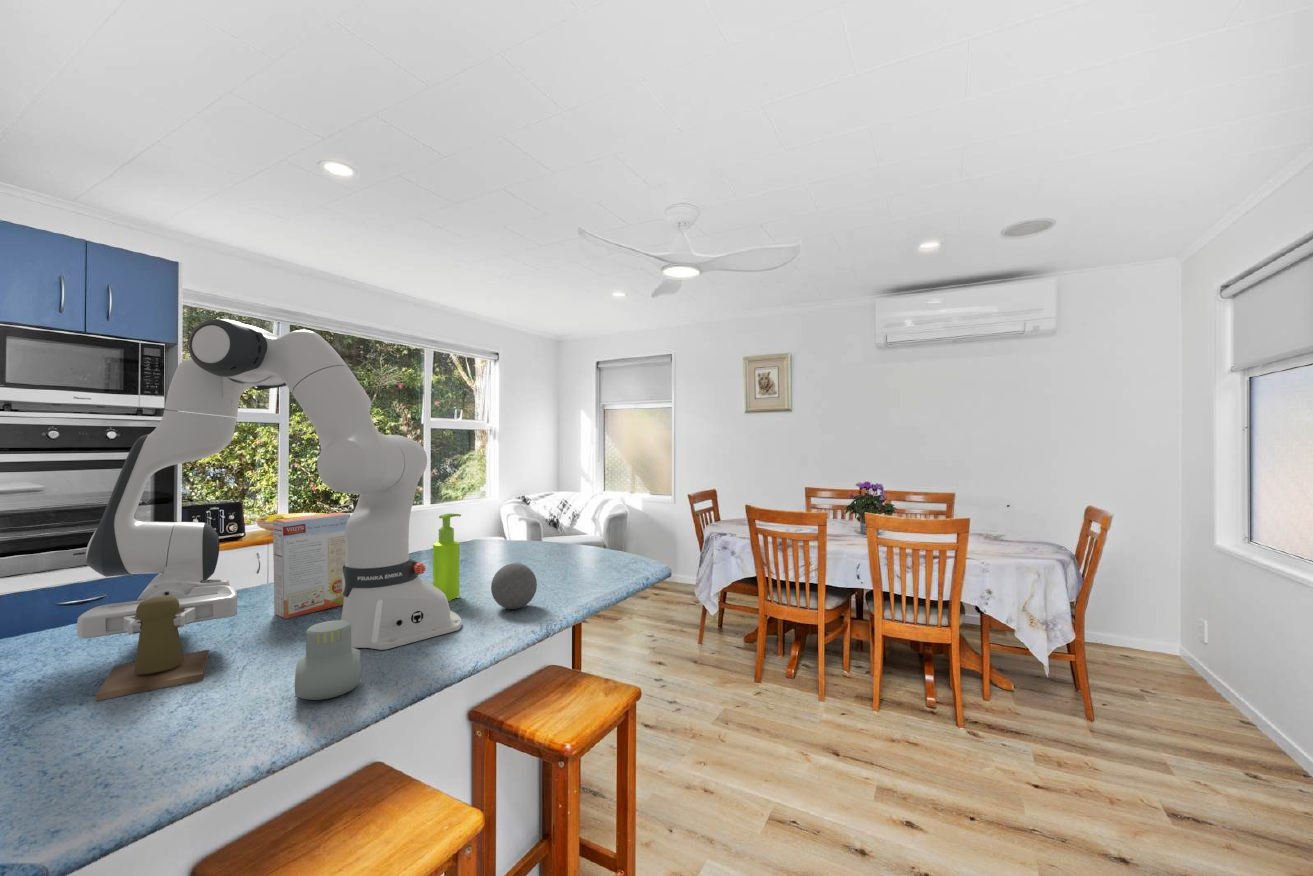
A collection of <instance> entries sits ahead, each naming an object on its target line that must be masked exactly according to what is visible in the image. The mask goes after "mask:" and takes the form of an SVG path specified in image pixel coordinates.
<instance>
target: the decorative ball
mask: <svg viewBox="0 0 1313 876" xmlns="http://www.w3.org/2000/svg"><path fill="white" fill-rule="evenodd" d="M537 582H538V581H537V577H536V575H535V573H534V572H533V571H532V569H531V568H530V567H528V566H526V565H525V564H522V563H516V562H515V563H509V564H506V565H504V566H502V567H501V568H500V569H498V570H497V572H496V573H495V574H494V576H493V578H492V579H491V587H490V591H491V595H492V598H493V599H494V601H495V602H496V603H497V604H498V605H499V606H501V607H502V608H504V609H507V610H518V609H521V608H524V607H525V606H526V605H528V604H529V603H530V602H531V601H532V600H533V599H534V596H535V595H536V593H537V587H538V586H537V585H538V583H537Z"/></svg>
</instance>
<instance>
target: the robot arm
mask: <svg viewBox="0 0 1313 876" xmlns="http://www.w3.org/2000/svg"><path fill="white" fill-rule="evenodd" d="M187 343H188V344H187V346H188V347H187V348H188V353H189V356H190V357H189V358H187V359H184V360H182V361H181V362H180V363H179V364H178V366H177V367H176V369H175V372H174V374H173V376H172V378H171V381H170V384H169V387H168V391H167V395H166V398H165V404H164V410H163V415H162V417H161V420H160V422H159V423H158V425H157V426H156V427H155V428H154V430H153V431H152V432H150V433H147V434H144V435H142V436H140V437H138V438H137V440H136V441H135V442H134V443H133V445H132V446H131V448H130V450H129V452H128V455H127V456H126V458H125V461H124V463H123V466H122V467H121V470H120V473H119V475H118V477H117V479H116V482H115V485H114V487H113V489H112V490H113V491H112V492H111V495H110V498H109V500H108V501H107V505H106V506H105V510H104V512H103V515H102V517H101V519H100V521H99V523H98V525H97V528H96V529H95V530H94V532H93V534H92V535H91V537H90V540H89V542H88V543H87V547H86V550H85V563H86V565H87V566H88V567H90V568H91V569H92V570H93V571H94V572H97V573H98V574H100V575H102V576H103V577H106V578H107V577H120V576H131V575H134V574H135V575H140V574H141V575H143V574H146V575H147V574H148V575H149V574H150V575H151V574H157V575H156V576H155V577H154V578H153V579H152V580H151V581H150V582H149V583H148V584H147V586H146V587H145V589H144V590H143V591H142V592H141V593H140V595H139V596H138V598H137V600H132V601H125V602H118V603H116V602H115V603H108V604H102V605H98V606H95V607H93V608H91V609H89V610H87V611H85V612H84V613H82V614H80V615H79V616H78V618H77V621H76V622H77V624H76V626H77V627H76V632H77V633H76V635H77V637H78V639H83V640H84V639H85V640H86V639H92V638H93V639H94V638H99V637H106V636H113V635H119V634H120V635H121V634H126V633H127V634H128V635H135V634H140V632H141V621H140V620H139V619H138V618H137V615H136V609H137V607H138V605H139V604H140V603H141V602H142V601H144V600H147V599H150V598H154V597H160V596H173V597H175V598H177V599H178V601H179V610H178V612H177V614H176V615H175V616H174V618H173V622H174V626H175V627H178V628H180V627H185V626H187V625H190V624H193V623H198V622H199V623H200V622H206V621H213V620H219V619H226V618H232V617H235V616H237V614H238V593H237V590H236V588H235V587H233V586H231V584H230V580H228V579H219V578H218V579H209V578H210V577H212V576H213V575H214V574H215V571H216V568H217V565H218V560H219V556H220V554H219V553H220V537H219V534H218V532H217V531H216V530H215V528H213V526H211V525H210V524H209V523H207V522H197V521H196V522H194V521H176V522H175V521H174V522H173V521H144V520H143V521H141V520H138V519H136V518H135V514H136V512H137V510H138V507H139V504H140V502H141V500H142V496H143V495H144V491H145V489H146V487H147V484H148V482H149V479H150V478H151V477H152V476H153V475H154V474H155V473H157V472H159V471H161V470H163V469H165V468H168V467H171V466H175V465H179V464H185V463H188V462H194V461H198V460H203V459H206V458H209V457H213V456H214V455H216V454H218V453H220V452H221V451H222V452H223V450H225V449H226V448H227V447H228V446H229V445H230V444H231V442H232V440H233V436H234V434H235V429H236V426H237V419H238V411H239V403H240V398H241V396H242V394H243V393H244V392H245V391H246V390H248V389H253V390H254V391H258V392H259V391H264V390H265V391H266V390H269V389H277V388H278V389H279V388H284V387H287V388H288V389H289V391H290V393H291V395H292V396H293V397H294V399H295V401H296V402H297V403H298V405H299V406H300V408H301V409H302V411H303V412H304V414H305V415H306V417H307V418H308V420H309V421H310V423H311V425H312V426H313V428H314V431H315V433H316V436H317V439H318V442H319V445H320V452H319V454H318V457H317V464H316V465H317V466H316V468H317V473H318V474H317V475H318V477H319V478H320V480H321V481H322V483H323V484H324V486H326V487H327V488H328V489H330V490H332V491H335V492H338V493H342V494H343V493H344V494H348V495H349V494H350V495H359V496H358V501H357V503H356V506H355V508H354V511H353V512H352V514H350V518H349V519H348V521H347V523H346V527H345V564H344V565H343V572H342V592H343V595H344V601H343V605H342V609H341V610H342V611H341V616H340V620H343V621H347V622H349V623H350V624H351V647H352V648H356V649H358V648H360V649H361V648H362V649H367V648H368V649H373V650H379V651H380V650H381V651H382V650H389V649H392V648H398V647H402V646H405V645H408V644H412V643H416V642H420V641H423V640H427V639H431V638H433V637H438V636H442V635H445V634H448V633H454V632H456V631H457V632H458V631H459V630H460V629H461V628H462V626H463V624H462V619H461V617H460V615H459V614H458V613H456V612H454V611H453V610H451V609H450V604H449V601H448V600H447V598H446V596H445V594H444V593H443V592H442V591H441V590H439V589H438V588H436V587H435V586H433V583H430V582H428V581H427V580H425V579H423V578H422V577H420V575H423V574H424V573H425V572H426V571H427V570H426V569H427V567H426V565H425V564H424V563H422V562H419V561H416V560H415V559H412V558H409V554H410V553H409V550H410V544H409V539H410V538H409V537H410V519H411V513H412V507H413V504H414V500H415V496H416V491H417V488H418V485H419V482H420V479H421V477H422V476H423V475H424V473H425V471H426V469H427V465H428V455H427V453H426V451H425V448H424V447H423V446H422V445H421V444H420V443H419V442H418V441H415V440H414V439H412V438H410V437H407V436H404V435H400V434H383V433H381V432H380V431H379V430H378V429H377V428H376V426H375V424H374V421H373V418H372V415H371V412H370V411H371V408H372V401H371V398H370V396H369V395H368V394H367V392H366V391H365V389H364V388H363V386H362V384H361V383H360V382H359V380H358V379H357V377H356V376H355V374H354V373H353V372H352V370H351V369H350V367H349V366H348V365H347V363H346V362H345V361H344V360H343V358H342V357H341V356H340V354H339V353H338V352H337V351H336V349H334V347H332V345H331V344H330V343H329V342H328V341H327V340H325V339H324V338H323V337H322V336H321V335H320V334H319V333H317V332H315V331H312V330H309V329H299V330H293V331H290V332H288V333H286V334H284V335H283V336H279V335H277V334H276V333H275V334H274V333H273V332H270V331H267V329H264V328H260V327H257V326H255V325H250V324H245V323H242V322H241V321H236V320H232V319H228V318H227V319H225V318H224V319H223V318H216V319H215V318H213V319H209V320H208V319H207V320H205V321H203V322H202V323H200V324H198V325H197V326H195V328H194V329H193V330H192V332H191V333H190V336H189V338H188V342H187Z"/></svg>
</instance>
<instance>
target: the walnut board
mask: <svg viewBox="0 0 1313 876" xmlns="http://www.w3.org/2000/svg"><path fill="white" fill-rule="evenodd" d="M209 651H210V650H209V649H206V650H205V649H204V650H200V651H194V652H188V653H187V652H186V653H183V657H184V662H183V663H182V664H180V665H178V666H176V667H173V668H171V669H168V670H164V671H160V672H155V673H148V674H138V673H135V672H134V668H135V662H129V663H124V664H119V665H114V666H113V668H112V669H111V671H110V672H109V674H108V676H107V677H106V678H105V681H103V683H102V685H101V686H100V688H99V690H98V691H97V693H96V701H103V700H108V699H112V698H118V697H124V696H128V695H134V694H139V693H143V692H148V691H154V690H159V689H164V688H169V687H174V686H179V684H180V685H183V683H185V684H189V683H188V682H190V683H195V682H200V681H203V680H204V675H205V672H206V668H207V663H208V660H209V654H210V652H209ZM163 687H164V688H163Z"/></svg>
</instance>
